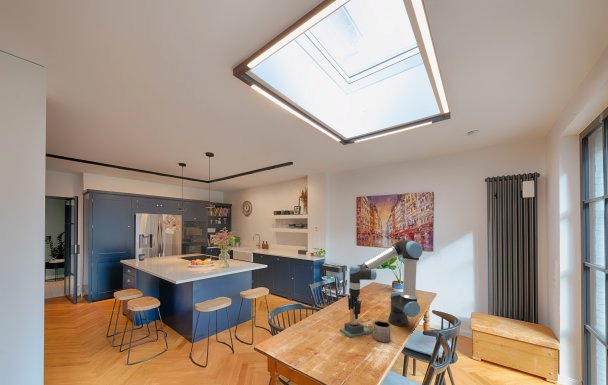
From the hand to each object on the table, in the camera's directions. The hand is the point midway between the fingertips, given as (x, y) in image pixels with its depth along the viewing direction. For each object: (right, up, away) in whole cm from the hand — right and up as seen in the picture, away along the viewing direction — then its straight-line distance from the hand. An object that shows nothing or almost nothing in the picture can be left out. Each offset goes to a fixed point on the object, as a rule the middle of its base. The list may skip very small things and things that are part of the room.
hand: (353, 322), depth 181 cm
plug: (0, -1, 0) cm, 1 cm away
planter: (+17, -7, -9) cm, 21 cm away
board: (+2, -7, 0) cm, 7 cm away
